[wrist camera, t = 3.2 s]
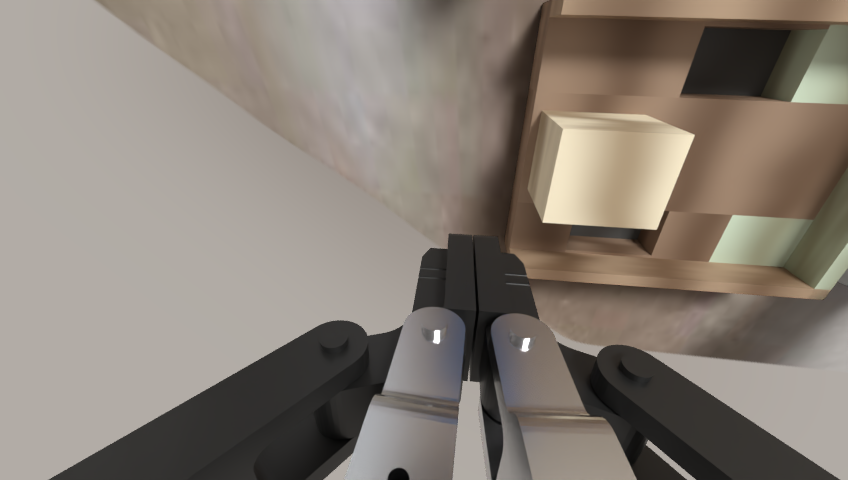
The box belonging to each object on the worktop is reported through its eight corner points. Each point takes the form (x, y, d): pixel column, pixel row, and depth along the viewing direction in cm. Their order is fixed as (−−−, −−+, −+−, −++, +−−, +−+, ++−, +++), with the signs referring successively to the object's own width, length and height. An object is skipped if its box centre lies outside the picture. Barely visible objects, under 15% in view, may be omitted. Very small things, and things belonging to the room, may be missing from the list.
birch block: (527, 189, 24) (542, 222, 19) (542, 110, 21) (563, 128, 17) (619, 194, 23) (656, 229, 19) (645, 114, 21) (694, 134, 16)
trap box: (504, 240, 28) (512, 277, 24) (542, 3, 20) (564, -6, 16) (765, 258, 27) (823, 299, 23) (915, 12, 19) (1047, 4, 15)
